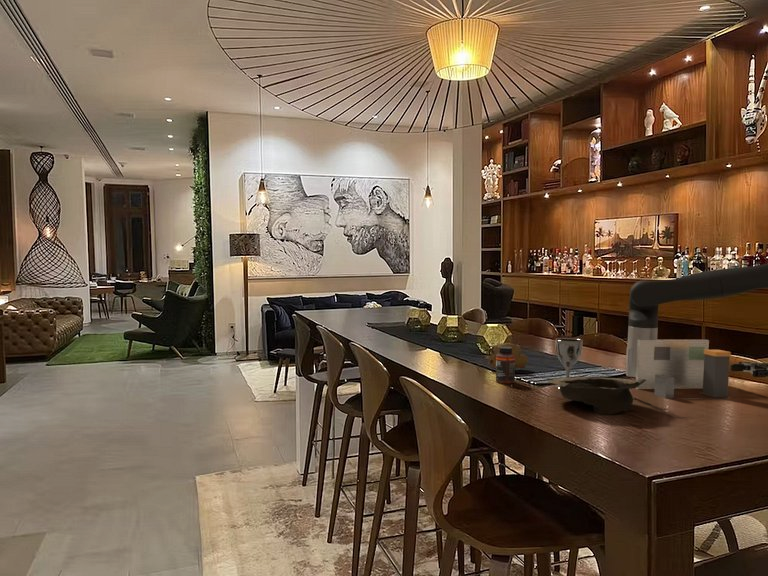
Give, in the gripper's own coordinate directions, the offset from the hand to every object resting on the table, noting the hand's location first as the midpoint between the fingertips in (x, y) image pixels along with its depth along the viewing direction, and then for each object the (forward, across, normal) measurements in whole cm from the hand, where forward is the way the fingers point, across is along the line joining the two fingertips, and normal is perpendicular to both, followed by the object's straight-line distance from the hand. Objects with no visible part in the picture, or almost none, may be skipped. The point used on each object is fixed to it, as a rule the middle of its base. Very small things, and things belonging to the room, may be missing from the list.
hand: (742, 370), depth 170 cm
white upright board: (+16, -3, +9) cm, 18 cm away
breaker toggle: (+9, 0, +7) cm, 11 cm away
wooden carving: (+55, -45, +9) cm, 72 cm away
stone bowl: (+49, +5, +9) cm, 50 cm away
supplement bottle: (+63, -26, +9) cm, 68 cm away
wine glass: (+46, -17, +9) cm, 50 cm away
